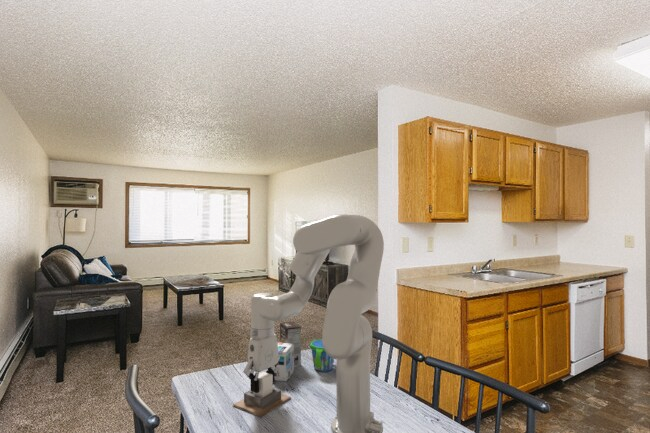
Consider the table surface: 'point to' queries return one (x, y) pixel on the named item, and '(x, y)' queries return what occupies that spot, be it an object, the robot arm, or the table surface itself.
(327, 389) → the table surface
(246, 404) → the socket
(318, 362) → the snack cup
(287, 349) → the light bulb box
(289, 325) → the coffee box
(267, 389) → the off-white rectangular box
